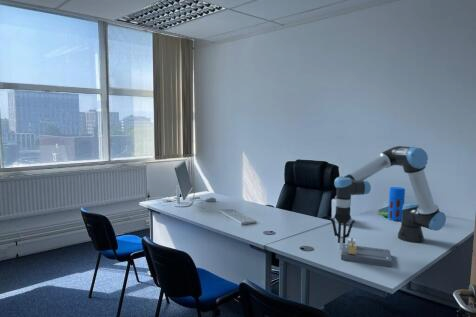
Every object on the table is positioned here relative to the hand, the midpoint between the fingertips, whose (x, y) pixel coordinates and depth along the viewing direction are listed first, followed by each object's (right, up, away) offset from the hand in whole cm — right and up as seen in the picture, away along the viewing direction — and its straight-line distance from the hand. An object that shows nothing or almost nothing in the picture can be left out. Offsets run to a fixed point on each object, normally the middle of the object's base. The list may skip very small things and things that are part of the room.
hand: (341, 248), depth 191 cm
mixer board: (+14, -5, +1) cm, 14 cm away
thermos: (+68, +1, +84) cm, 108 cm away
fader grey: (+8, -1, +8) cm, 11 cm away
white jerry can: (+21, +1, +74) cm, 77 cm away
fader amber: (+5, -1, -2) cm, 6 cm away
